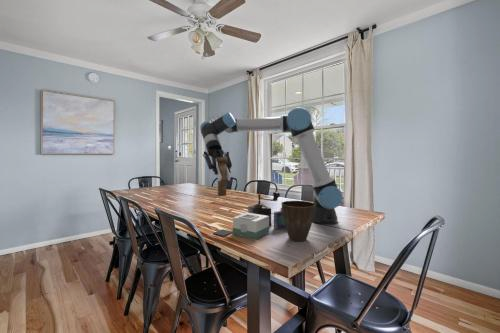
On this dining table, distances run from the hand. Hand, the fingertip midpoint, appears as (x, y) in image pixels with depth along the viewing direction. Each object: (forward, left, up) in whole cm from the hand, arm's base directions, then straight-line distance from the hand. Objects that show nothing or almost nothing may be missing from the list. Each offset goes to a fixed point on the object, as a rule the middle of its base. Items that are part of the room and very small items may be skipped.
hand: (225, 178), depth 113 cm
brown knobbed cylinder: (+3, -2, -8) cm, 9 cm away
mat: (+3, -2, -27) cm, 27 cm away
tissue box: (-8, -10, -27) cm, 30 cm away
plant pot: (-30, -15, -27) cm, 43 cm away
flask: (-17, -25, -27) cm, 40 cm away
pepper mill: (-5, -27, -27) cm, 38 cm away
